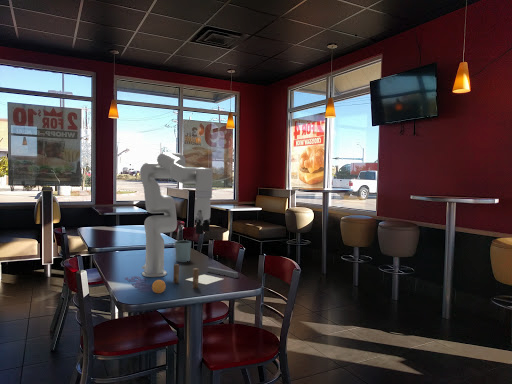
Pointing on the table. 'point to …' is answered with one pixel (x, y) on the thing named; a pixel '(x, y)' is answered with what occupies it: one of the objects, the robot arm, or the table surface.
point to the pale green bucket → (183, 250)
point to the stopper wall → (222, 272)
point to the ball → (158, 286)
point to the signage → (140, 284)
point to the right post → (195, 277)
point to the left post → (176, 274)
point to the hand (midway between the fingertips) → (202, 232)
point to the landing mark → (206, 279)
